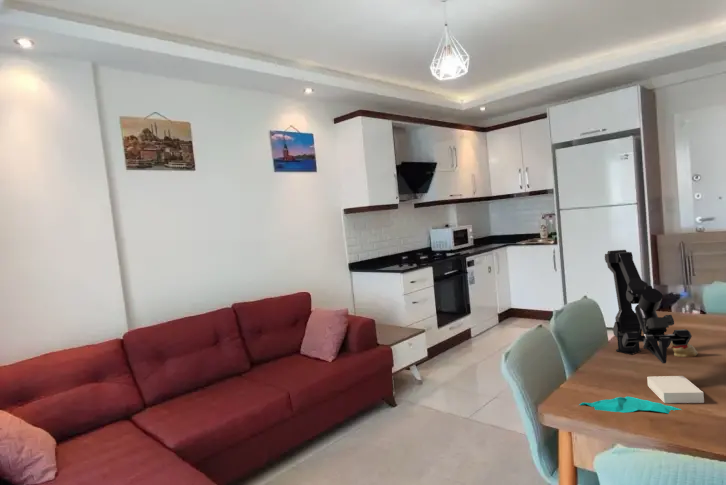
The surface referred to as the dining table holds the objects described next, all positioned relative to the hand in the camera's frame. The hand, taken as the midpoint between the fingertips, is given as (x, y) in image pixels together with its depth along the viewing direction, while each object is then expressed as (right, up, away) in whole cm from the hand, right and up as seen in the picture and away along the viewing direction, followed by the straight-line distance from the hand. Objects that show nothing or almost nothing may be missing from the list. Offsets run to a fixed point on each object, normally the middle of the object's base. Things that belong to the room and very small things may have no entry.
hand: (664, 362), depth 144 cm
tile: (+1, -6, +1) cm, 6 cm away
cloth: (-16, -11, -10) cm, 22 cm away
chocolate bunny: (+24, -4, +25) cm, 35 cm away
